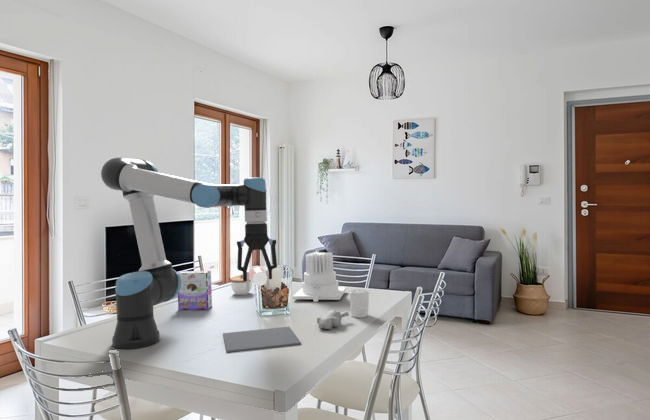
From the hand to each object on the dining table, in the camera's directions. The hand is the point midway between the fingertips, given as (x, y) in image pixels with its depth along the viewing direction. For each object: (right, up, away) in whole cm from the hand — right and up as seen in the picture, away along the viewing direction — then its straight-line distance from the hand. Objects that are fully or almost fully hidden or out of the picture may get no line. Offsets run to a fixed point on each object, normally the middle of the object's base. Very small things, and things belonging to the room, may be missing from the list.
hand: (257, 289), depth 163 cm
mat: (+1, -17, -2) cm, 17 cm away
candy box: (-34, -16, +46) cm, 60 cm away
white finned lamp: (+21, -15, +64) cm, 68 cm away
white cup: (+37, -15, +27) cm, 48 cm away
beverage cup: (+2, +5, -8) cm, 9 cm away
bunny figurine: (+26, -16, +14) cm, 34 cm away
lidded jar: (-19, -15, +75) cm, 79 cm away
